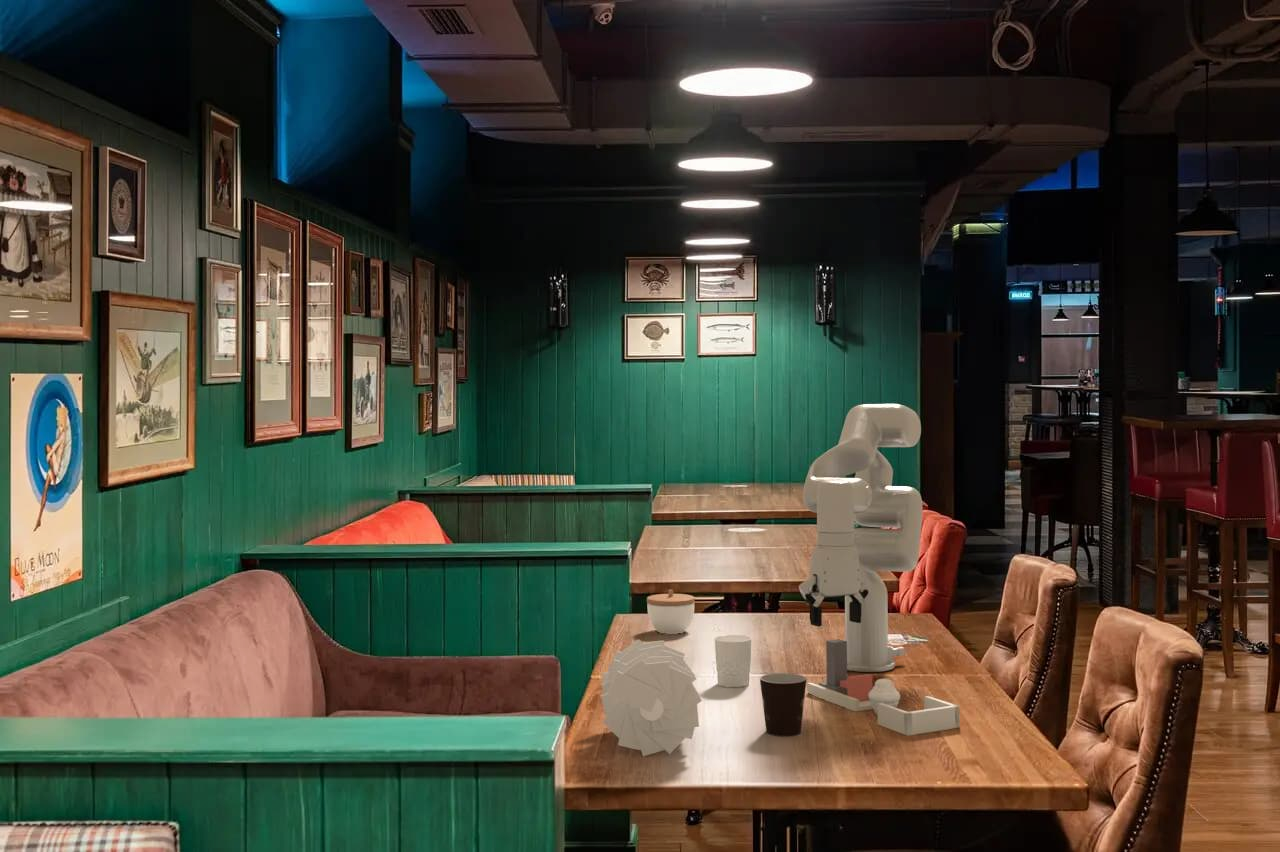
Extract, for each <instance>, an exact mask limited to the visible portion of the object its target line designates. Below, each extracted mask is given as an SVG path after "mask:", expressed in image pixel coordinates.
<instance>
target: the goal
mask: <svg viewBox="0 0 1280 852" xmlns="http://www.w3.org/2000/svg"><path fill="white" fill-rule="evenodd" d="M923 698H924V699H923V701H924V703H923V705H924V709H920V710H912V711H906V710H903V709H901V708H898V707H896V708H895V707H893V706H890V705H887V704H884V703H878V715H877V725H878V726H881V727H883V728H887V729H889V730H891V731H893V732H897V733H899V734H903V735H905V736H914V735H919V734H920V735H921V734H927V733H933V732H939V731H945V730H951V729H957V728H960V705H957V704H954V703H952V702H948V701H945V700H941V699H939V698H936V697H932V696H930V695H928V696H924V697H923Z"/></svg>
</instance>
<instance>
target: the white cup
mask: <svg viewBox="0 0 1280 852" xmlns="http://www.w3.org/2000/svg"><path fill="white" fill-rule="evenodd" d="M714 651H715V653H714V654H715V664H716V673H717V674H716V675H717V676H716V677H717V685H718V686H720V687H723V686H724V687H723V688H731V687H732V688H734V687H735V688H737V687H738V688H743V686H744V687H747V686H749V685H750V674H751V673H750V671H751V660H752V637H751V636H749V635H742V634H741V635H740V634H724V635H718V636H715V637H714ZM748 684H749V685H748Z"/></svg>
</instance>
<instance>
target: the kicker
mask: <svg viewBox="0 0 1280 852" xmlns="http://www.w3.org/2000/svg"><path fill="white" fill-rule="evenodd" d="M825 644H826V645H825V649H826V659H825V660H826V681H823V682H822V681H821V682H818V685H819V686H822V687H825V688H828V689H830V690H833V691H836V692H839V693H842V694H847V696H850V697H853V698H856V699H858V700H862V699H869V697H868V694H869V692H870V691H871V690H872V689H873V674H869V673H867V674H866V673H865V674H860V675H852V676H848V670H847V641H845V640H843V639H840V638H837V639H836V638H834V639H829V640H827V639H826V643H825Z"/></svg>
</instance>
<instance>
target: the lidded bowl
mask: <svg viewBox="0 0 1280 852" xmlns="http://www.w3.org/2000/svg"><path fill="white" fill-rule="evenodd" d="M695 599H696V598H695V596H693V595H690V594H686V593H685V594H684V593H674V590H673V589H668V593H659V594H651V595H649V596H647V597H646V603H647V616H648V620H649V622H650V624H651V626H652V627H653V628H654V629H655V630H656V631H658V632H660V633H659V634H661V633H666V634H665V635H679V634H678V633H681V634H684V633H685V631H686V630H687V629H688V628H689V627H690V625H691V623H692V622H693V619H694V614H695V602H696V601H695ZM658 632H657V633H658ZM683 632H684V633H683Z"/></svg>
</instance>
